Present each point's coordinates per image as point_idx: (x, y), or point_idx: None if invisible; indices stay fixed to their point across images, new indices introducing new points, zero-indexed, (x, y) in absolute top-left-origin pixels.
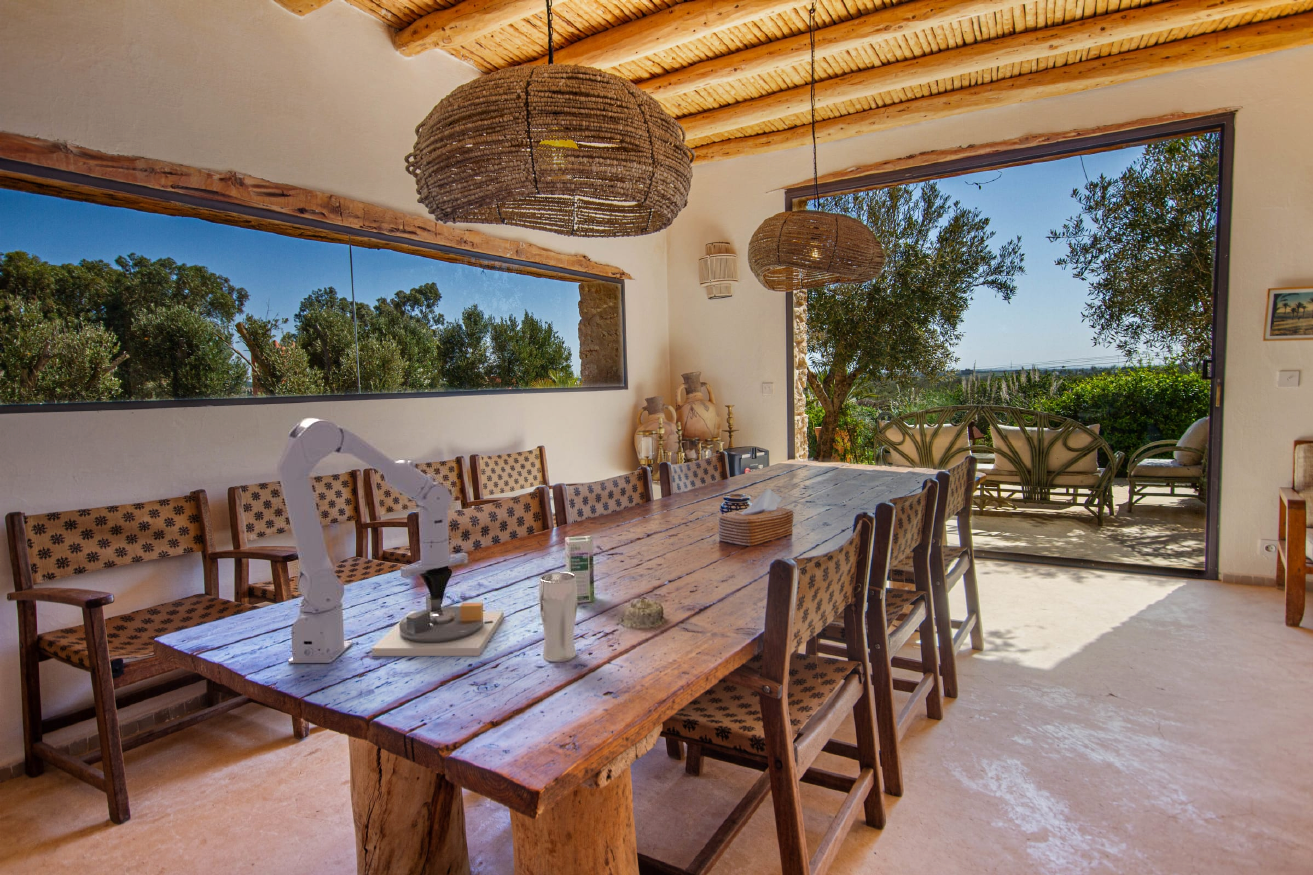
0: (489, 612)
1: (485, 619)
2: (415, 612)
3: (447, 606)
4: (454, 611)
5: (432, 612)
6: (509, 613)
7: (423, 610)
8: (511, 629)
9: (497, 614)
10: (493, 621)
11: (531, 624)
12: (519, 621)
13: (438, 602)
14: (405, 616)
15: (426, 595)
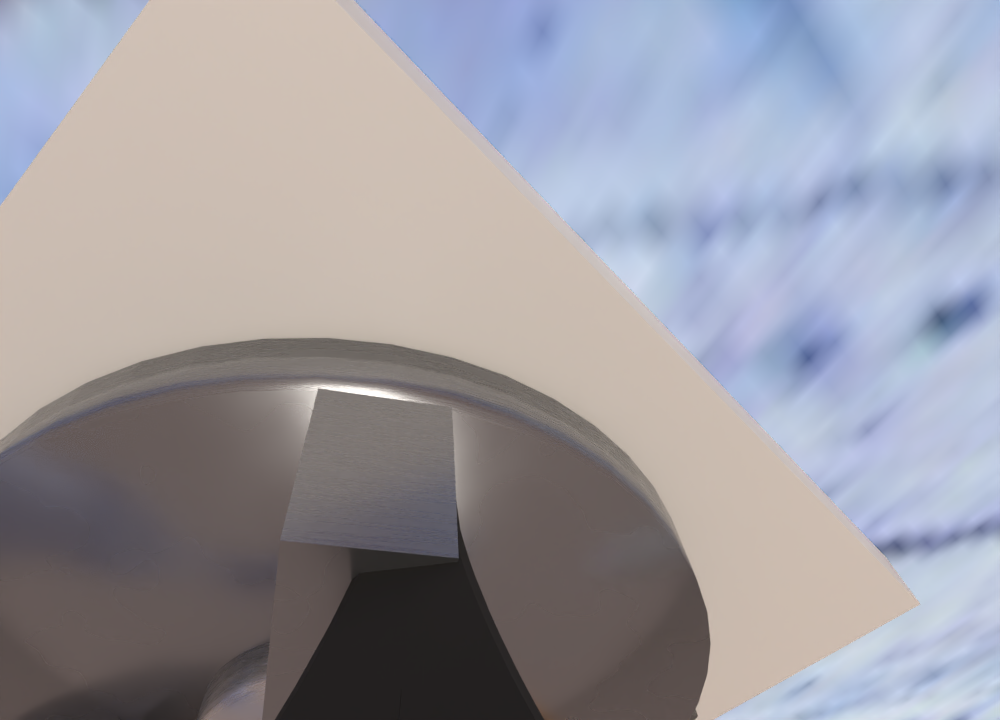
0: (835, 570)
1: None
2: (147, 403)
3: (574, 462)
4: (533, 619)
5: (255, 711)
6: (992, 510)
7: (267, 407)
8: (739, 714)
9: (829, 634)
10: (700, 711)
11: (869, 715)
12: (878, 653)
13: None
14: (95, 86)
15: (285, 558)
